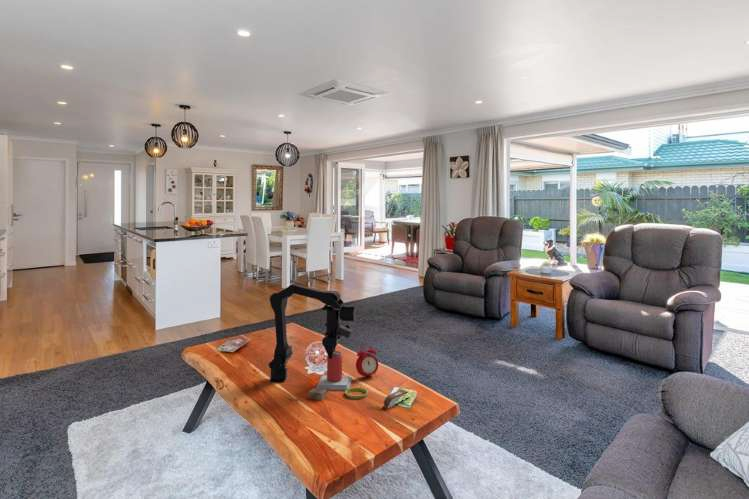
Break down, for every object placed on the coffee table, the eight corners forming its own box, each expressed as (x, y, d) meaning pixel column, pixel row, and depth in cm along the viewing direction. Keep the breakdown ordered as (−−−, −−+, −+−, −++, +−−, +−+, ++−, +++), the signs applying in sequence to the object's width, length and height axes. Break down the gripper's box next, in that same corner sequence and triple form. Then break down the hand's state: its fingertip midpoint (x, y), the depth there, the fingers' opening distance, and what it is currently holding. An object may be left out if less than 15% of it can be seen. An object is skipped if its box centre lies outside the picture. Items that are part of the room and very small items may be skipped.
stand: (316, 389, 176) (316, 385, 176) (321, 378, 190) (321, 374, 190) (348, 390, 175) (349, 386, 175) (351, 379, 189) (351, 374, 189)
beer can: (329, 383, 178) (330, 355, 178) (324, 378, 184) (325, 351, 184) (344, 381, 181) (344, 353, 181) (338, 376, 187) (339, 350, 186)
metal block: (308, 398, 167) (308, 391, 167) (313, 395, 171) (313, 388, 170) (322, 401, 165) (322, 393, 165) (326, 397, 169) (326, 390, 169)
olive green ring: (364, 406, 177) (364, 386, 177) (370, 415, 168) (370, 394, 168) (342, 409, 174) (342, 388, 174) (348, 418, 165) (348, 396, 165)
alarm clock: (360, 381, 187) (360, 348, 186) (354, 376, 192) (354, 344, 192) (380, 377, 192) (380, 345, 191) (374, 373, 197) (374, 342, 197)
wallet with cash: (405, 406, 175) (405, 386, 174) (411, 408, 173) (411, 388, 172) (381, 417, 164) (381, 396, 163) (387, 420, 162) (387, 399, 161)
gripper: (348, 325, 172) (348, 362, 173) (352, 316, 191) (352, 350, 191) (322, 324, 172) (321, 361, 173) (328, 315, 191) (328, 349, 192)
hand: (332, 355), depth 182 cm, fingers open, 9 cm apart
